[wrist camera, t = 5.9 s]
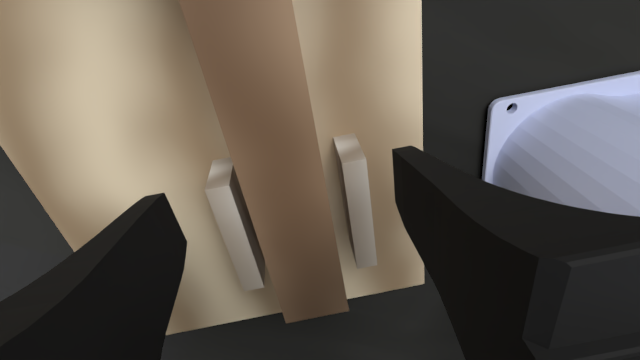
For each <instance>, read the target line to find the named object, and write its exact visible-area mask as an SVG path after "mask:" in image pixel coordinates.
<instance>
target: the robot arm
mask: <svg viewBox="0 0 640 360" xmlns="http://www.w3.org/2000/svg"><path fill="white" fill-rule="evenodd" d="M512 103H513V106H512V108H511V109H510V110H507V107H508V106H509V105H510V104H512ZM392 158H393V174H394V191H395V203H396V206H397V209H398V211H399V214H400V217H401V219H402V222H403V225H404V227H405V229H406V231H407V233H408V235H409V237H410V239H411V241H412V242H413V244H414V246H415V248H416V250H417V252H418V254H419V255H420V257H421V259H422V261H423V263H424V265H425V267H426V268H427V270H428V272H429V274H430V276H431V278H432V279H433V281H434V283H435V285H436V287H437V290H438V292H439V294H440V296H441V298H442V301H443V303H444V306H445V308H446V311H447V313H448V316H449V318H450V320H451V323H452V325H453V328H454V331H455V333H456V336H457V338H458V341H459V344H460V346H461V349H462V351H463V354H464V357H465V359H466V360H640V71H637V72H632V73H626V74H621V75H616V76H611V77H606V78H600V79H595V80H590V81H585V82H580V83H575V84H569V85H564V86H559V87H554V88H549V89H544V90H538V91H533V92H528V93H523V94H518V95H513V96H507V97H502V98H498V99H495V100H494V101H493V102H491V104H490V105H489V108H488V115H487V126H486V137H485V148H484V160H483V171H482V180H481V179H479V178H476V177H474V176H472V175H469V174H467V173H465V172H463V171H461V170H459V169H456V168H454V167H452V166H450V165H448V164H446V163H445V162H443V161H441V160H439V159H437V158H435V157H433V156H431V155H429V154H428V153H426V152H424V151H422V150H420V149H418V148H416V147H414V146H405V147H400V148H395V149H392ZM186 249H187V240H186V238H185V236H184V234H183V232H182V230H181V227H180V225H179V223H178V221H177V219H176V217H175V214H174V212H173V210H172V208H171V206H170V204H169V201H168V199H167V197H166V195H165V193H159V194H154V195H149V196H145V197H143V198H142V199H140V200H139V201H137V202H136V203H135V204H133V205H132V206H131V207H130V208H128V209H127V210H126V211H125V212H123V213H122V214H121V215H120V216H119V217H117V218H116V219H115V220H114V221H113V222H111V223H110V224H109V225H108V226H107V227H105V228H104V229H103V230H102V231H101V232H99V233H98V234H97V235H96V236H95V237H93V238H92V239H91V240H90V241H88V242H87V243H86V244H84V245H83V246H82V247H81V248H79V249H78V250H77V251H75V252H74V253H73V254H72V255H70V256H69V257H68V258H67V259H65V260H64V261H63V262H61V263H60V264H58V265H57V266H56V267H54V268H53V269H51V270H50V271H49V272H47V273H46V274H44V275H43V276H41V277H40V278H38V279H37V280H35V281H34V282H32V283H31V284H29V285H28V286H26V287H24V288H23V289H21V290H20V291H18V292H16V293H15V294H13V295H11V296H10V297H8V298H6V299H4V300H3V301H1V302H0V360H160V359H161V353H162V347H163V343H164V339H165V335H166V331H167V328H168V324H169V321H170V317H171V314H172V310H173V307H174V304H175V300H176V297H177V293H178V290H179V286H180V282H181V279H182V275H183V271H184V265H185V258H186Z"/></svg>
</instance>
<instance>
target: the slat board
mask: <svg viewBox="0 0 640 360" xmlns="http://www.w3.org/2000/svg"><path fill="white" fill-rule="evenodd" d="M292 4H293V9H294V14H295V20H296V25H297V31H298V36H299V42H300V47H301V52H302V58H303V63H304V69H305V74H306V80H307V85H308V90H309V96H310V101H311V107H312V112H313V118H314V123H315V129H316V134H317V139H318V145H319V150H320V156H321V161H322V167H323V172H324V177H325V183H326V188H327V194H328V199H329V205H330V210H331V215H332V221H333V226H334V232H335V237H336V243H337V248H338V254H339V259H340V264H341V270H342V275H343V281H344V286H345V292H346V297H347V299H350V298H356V297H361V296H366V295H371V294H376V293H381V292H386V291H391V290H396V289H401V288H406V287H411V286H416V285H421V284H424V263H423V261H422V259H421V257H420V255H419V254H418V252H417V250H416V248H415V246H414V244H413V242H412V241H411V239H410V237H409V235H408V233H407V231H406V229H405V227H404V225H403V222H402V219H401V217H400V214H399V211H398V209H397V206H396V203H395V191H394V174H393V158H392V149H395V148H400V147H405V146H414V147H416V148H418V149H420V150H422V151H423V105H422V9H421V0H292ZM0 145H1V147H2V148H3V150H4V151H5V152H6V154H7V155H8V157H9V158H10V160H11V161H12V163H13V164H14V165H15V167H16V168H17V170H18V171H19V173H20V174H21V175H22V177H23V178H24V180H25V181H26V183H27V184H28V186H29V187H30V188H31V190H32V191H33V193H34V194H35V196H36V197H37V199H38V200H39V201H40V203H41V204H42V206H43V207H44V209H45V210H46V212H47V213H48V214H49V216H50V217H51V219H52V220H53V222H54V223H55V225H56V226H57V227H58V229H59V230H60V232H61V233H62V235H63V236H64V238H65V239H66V240H67V242H68V243H69V245H70V246H71V248H72V249H73V251H74V252H75V251H77V250H78V249H79V248H81V247H82V246H83V245H84V244H86V243H87V242H88V241H90V240H91V239H92V238H93V237H95V236H96V235H97V234H98V233H99V232H101V231H102V230H103V229H104V228H105V227H107V226H108V225H109V224H110V223H111V222H113V221H114V220H115V219H116V218H117V217H119V216H120V215H121V214H122V213H123V212H125V211H126V210H127V209H128V208H130V207H131V206H132V205H133V204H135V203H136V202H137V201H139V200H140V199H142V198H143V197H145V196H149V195H154V194H159V193H165V195H166V197H167V199H168V201H169V204H170V206H171V208H172V210H173V212H174V214H175V217H176V219H177V221H178V223H179V225H180V227H181V230H182V232H183V234H184V236H185V238H186V240H187V249H186V258H185V265H184V271H183V275H182V279H181V282H180V286H179V290H178V293H177V297H176V300H175V304H174V307H173V310H172V314H171V317H170V321H169V324H168V328H167V331H166V335H169V334H175V333H180V332H185V331H190V330H195V329H200V328H205V327H210V326H215V325H220V324H225V323H230V322H235V321H240V320H245V319H250V318H255V317H260V316H265V315H270V314H275V313H280V312H282V310H281V307H280V304H279V301H278V298H277V295H276V292H275V289H274V286H273V283H272V280H271V277H270V274H269V271H268V268H267V265H266V262H265V259H264V256H263V253H262V250H261V247H260V244H259V241H258V238H257V235H256V232H255V229H254V226H253V223H252V220H251V217H250V214H249V211H248V208H247V205H246V202H245V199H244V196H243V193H242V190H241V187H240V184H239V181H238V178H237V175H236V172H235V169H234V166H233V163H232V160H231V157H230V154H229V151H228V148H227V145H226V142H225V139H224V136H223V133H222V130H221V127H220V124H219V121H218V118H217V115H216V112H215V109H214V106H213V103H212V100H211V97H210V94H209V91H208V88H207V85H206V82H205V79H204V76H203V72H202V69H201V66H200V63H199V60H198V57H197V54H196V51H195V48H194V45H193V42H192V39H191V36H190V33H189V30H188V27H187V24H186V21H185V18H184V15H183V12H182V9H181V6H180V3H179V0H0Z"/></svg>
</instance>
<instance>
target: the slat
mask: <svg viewBox="0 0 640 360" xmlns="http://www.w3.org/2000/svg"><path fill="white" fill-rule="evenodd" d="M179 3H180V6H181V9H182V12H183V15H184V18H185V21H186V24H187V27H188V30H189V33H190V36H191V39H192V42H193V45H194V48H195V51H196V54H197V57H198V60H199V63H200V66H201V69H202V72H203V76H204V79H205V82H206V85H207V88H208V91H209V94H210V97H211V100H212V103H213V106H214V109H215V112H216V115H217V118H218V121H219V124H220V127H221V130H222V133H223V136H224V139H225V142H226V145H227V148H228V151H229V154H230V157H231V160H232V163H233V166H234V169H235V172H236V175H237V178H238V181H239V184H240V187H241V190H242V193H243V196H244V199H245V202H246V205H247V208H248V211H249V214H250V217H251V220H252V223H253V226H254V229H255V232H256V235H257V238H258V241H259V244H260V247H261V250H262V253H263V256H264V259H265V262H266V265H267V268H268V271H269V274H270V277H271V280H272V283H273V286H274V289H275V292H276V295H277V298H278V301H279V304H280V307H281V310H282V313H283V316H284V319H285V322H286V323H291V322H296V321H301V320H306V319H311V318H316V317H321V316H326V315H331V314H336V313H341V312H346V311H349V308H348V302H347V297H346V292H345V286H344V281H343V275H342V270H341V264H340V259H339V254H338V248H337V243H336V237H335V232H334V226H333V221H332V215H331V210H330V205H329V199H328V194H327V188H326V183H325V177H324V172H323V167H322V161H321V156H320V150H319V145H318V139H317V134H316V129H315V123H314V118H313V112H312V107H311V101H310V96H309V90H308V85H307V80H306V74H305V69H304V63H303V58H302V52H301V47H300V42H299V36H298V31H297V25H296V20H295V14H294V9H293V4H292V0H179Z"/></svg>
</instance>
